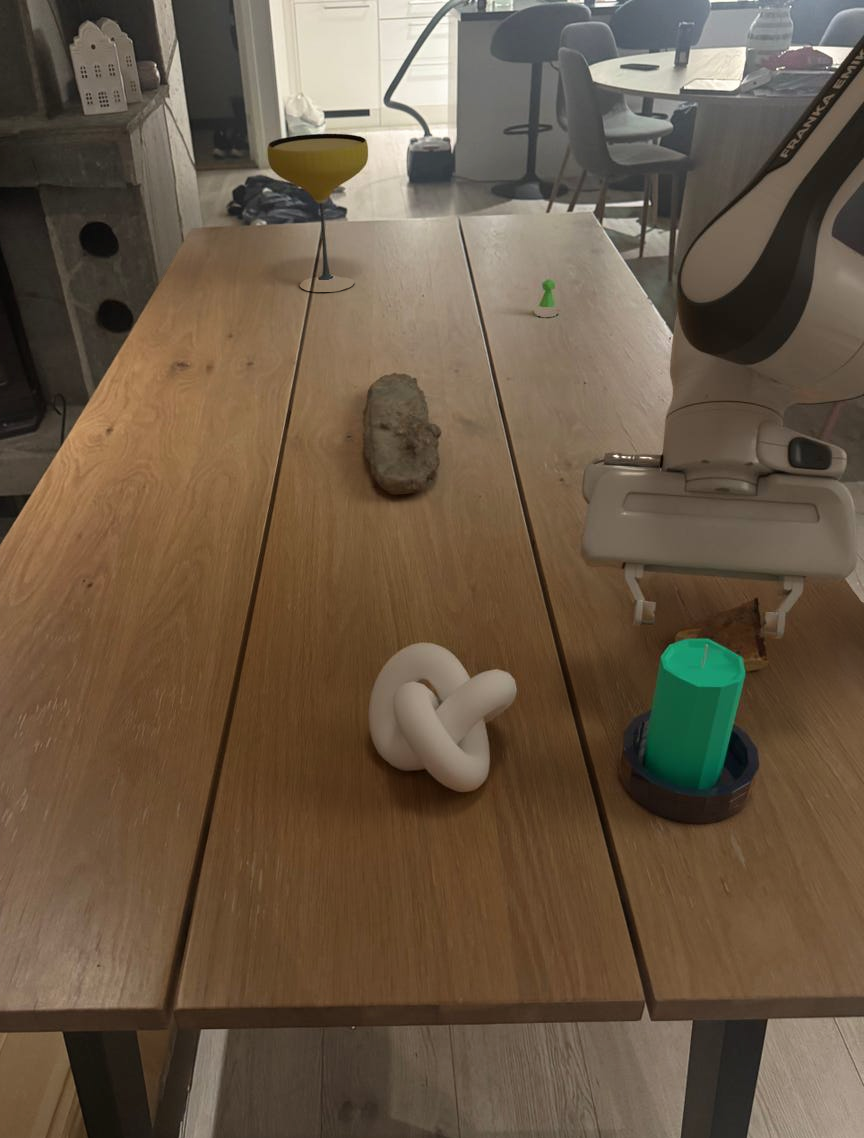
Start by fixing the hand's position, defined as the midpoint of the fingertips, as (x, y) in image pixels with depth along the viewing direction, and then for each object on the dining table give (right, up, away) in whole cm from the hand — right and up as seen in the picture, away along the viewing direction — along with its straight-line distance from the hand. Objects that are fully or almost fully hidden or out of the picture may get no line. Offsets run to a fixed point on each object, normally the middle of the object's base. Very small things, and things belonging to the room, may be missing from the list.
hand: (706, 631), depth 74 cm
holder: (-1, -12, +3) cm, 12 cm away
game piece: (+4, +56, +95) cm, 110 cm away
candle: (-1, -11, +3) cm, 11 cm away
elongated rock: (-23, +26, +55) cm, 65 cm away
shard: (+7, -1, +17) cm, 18 cm away
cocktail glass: (-36, +68, +113) cm, 137 cm away
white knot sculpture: (-19, -10, +6) cm, 23 cm away
